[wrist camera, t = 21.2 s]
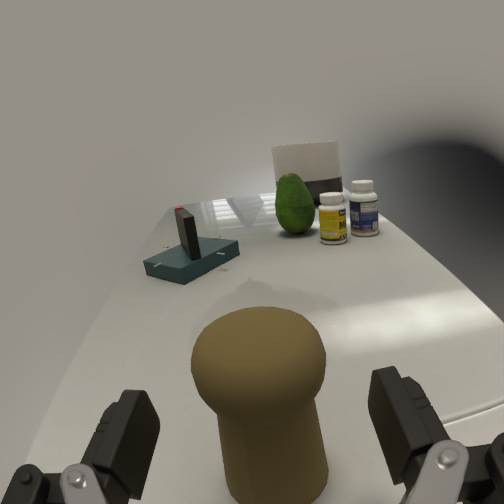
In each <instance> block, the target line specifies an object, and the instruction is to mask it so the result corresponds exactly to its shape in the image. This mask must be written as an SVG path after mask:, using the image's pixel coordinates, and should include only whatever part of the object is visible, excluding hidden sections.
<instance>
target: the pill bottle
mask: <svg viewBox="0 0 504 504" xmlns="http://www.w3.org/2000/svg"><path fill="white" fill-rule="evenodd" d="M352 189H353V191H354V192H353V193H351V194H350V196H349V205H350V222H351V233H352V234H354V235H357V236H372V235H375V234H377V233H378V198H377V194H376V193H374V192H373V191H372V189H373V181H370V180H358V181H352Z"/></svg>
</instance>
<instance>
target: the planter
mask: <svg viewBox="0 0 504 504" xmlns="http://www.w3.org/2000/svg"><path fill="white" fill-rule="evenodd" d="M272 156H273V164H274V171H275V179H276V187H277V184H278V181H279V178H281V177H282V176H283V175H285V174H288V173H294V174H297V175H298V176H299V177H300V178H301V179H302V180H303V182H304V184H305V185H306V187H307V189H308V190H309V192H310V194H311V197H312V199H313V201H314V205H318V204H322V203H320V194H322V193H328V192H340V193H341V192H342V191H343V187H342V175H341V165H340V155H339V146H338V141H321V142H308V143H297V144H287V145H279V146H272Z"/></svg>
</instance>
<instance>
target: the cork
mask: <svg viewBox="0 0 504 504" xmlns="http://www.w3.org/2000/svg"><path fill="white" fill-rule="evenodd" d="M325 367H326V352H325V349H324V346H323V343H322V340H321V338H320V335H319V333H318V331H317V330H316V329H315V327H314V326H313V325H312V324H311V323H310V322H309V321H308V320H307V319H306V318H305V317H303V316H302V315H300V314H298V313H296V312H293V311H291V310H287V309H281V308H276V307H252V308H244V309H241V310H238V311H234V312H231V313H229V314H227V315H225V316H222V317H220V318H218V319H216V320H215V321H213V322H212V323H211V324H209V325H208V326H207V327H206V328H204V330H203V331H202V332H201V334H200V335H199V337H198V338H197V340H196V343H195V345H194V348H193V352H192V357H191V372H192V375H193V379H194V382H195V385H196V387H197V390H198V393H199V395H200V396H201V398H202V399H203V400H204V401H205V403H206V404H207V405H208V406H209V407H210V408H211V409H212V410H213V411H214V412H215V413H216V414H217V419H218V427H219V434H220V442H221V449H222V456H223V463H224V469H225V476H226V482H227V486H228V488H229V490H230V493H231V495H232V496H233V497H234V498H235V499H236V501H237V502H238V503H239V504H310V503H311V502H313V501H314V500H315V499H316V498H317V497H319V495H320V494H321V492H322V490H323V489H324V487H325V485H326V484H327V478H328V472H329V471H328V465H327V460H326V455H325V450H324V445H323V439H322V434H321V429H320V425H319V420H318V415H317V410H316V405H315V400H314V398H315V397H316V395H317V393H318V392H319V390H320V388H321V386H322V383H323V380H324V375H325Z"/></svg>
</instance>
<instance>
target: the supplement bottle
mask: <svg viewBox="0 0 504 504" xmlns="http://www.w3.org/2000/svg"><path fill="white" fill-rule="evenodd" d="M342 202H343V195H342V193H340V192H328V193H322V194H320V203H322V204H321V205H320V206H319V221H320V236H321V242H322V243H324V244H341V243H344V242H345V241H346V240H347V228H346V209H345V205H344V204H343V203H342Z"/></svg>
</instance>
